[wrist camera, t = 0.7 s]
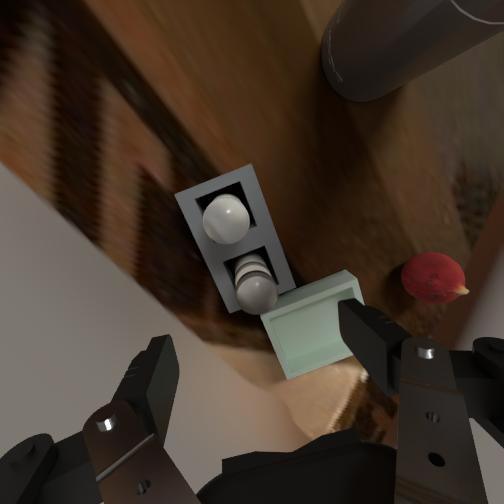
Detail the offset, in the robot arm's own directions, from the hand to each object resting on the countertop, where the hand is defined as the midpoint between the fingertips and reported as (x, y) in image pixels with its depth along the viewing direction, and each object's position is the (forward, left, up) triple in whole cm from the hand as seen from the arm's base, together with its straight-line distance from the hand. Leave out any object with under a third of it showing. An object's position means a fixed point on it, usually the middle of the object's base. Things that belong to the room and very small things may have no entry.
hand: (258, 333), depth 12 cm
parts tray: (-5, +13, -19) cm, 24 cm away
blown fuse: (0, +3, -19) cm, 19 cm away
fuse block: (0, -1, -19) cm, 19 cm away
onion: (-19, +11, -19) cm, 29 cm away
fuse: (0, -4, -19) cm, 19 cm away
